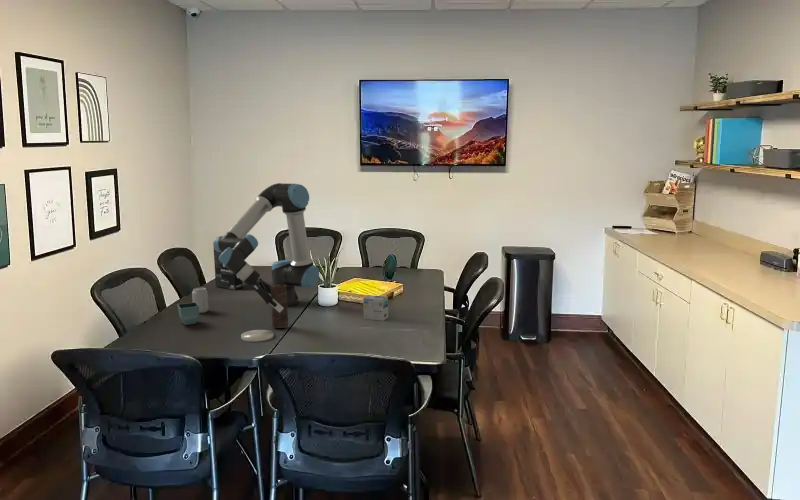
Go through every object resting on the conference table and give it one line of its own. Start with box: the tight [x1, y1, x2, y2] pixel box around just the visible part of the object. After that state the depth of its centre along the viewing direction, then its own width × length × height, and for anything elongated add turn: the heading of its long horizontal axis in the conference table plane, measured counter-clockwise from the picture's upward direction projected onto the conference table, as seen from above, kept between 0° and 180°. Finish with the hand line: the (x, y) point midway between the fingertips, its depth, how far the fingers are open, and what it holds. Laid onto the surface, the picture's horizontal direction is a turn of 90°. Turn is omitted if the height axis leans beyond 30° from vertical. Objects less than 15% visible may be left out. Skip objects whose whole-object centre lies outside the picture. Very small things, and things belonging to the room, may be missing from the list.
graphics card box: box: [213, 248, 244, 291], centre depth 383 cm, size 17×7×27 cm, turn 58°
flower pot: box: [176, 301, 200, 326], centre depth 309 cm, size 9×9×9 cm
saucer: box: [240, 329, 275, 343], centre depth 288 cm, size 14×14×1 cm
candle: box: [270, 285, 289, 329], centre depth 300 cm, size 8×7×20 cm
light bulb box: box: [362, 294, 389, 322], centre depth 316 cm, size 11×7×11 cm, turn 71°
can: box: [191, 287, 209, 314], centre depth 331 cm, size 8×8×12 cm
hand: (283, 306), depth 300 cm, fingers open, 13 cm apart
